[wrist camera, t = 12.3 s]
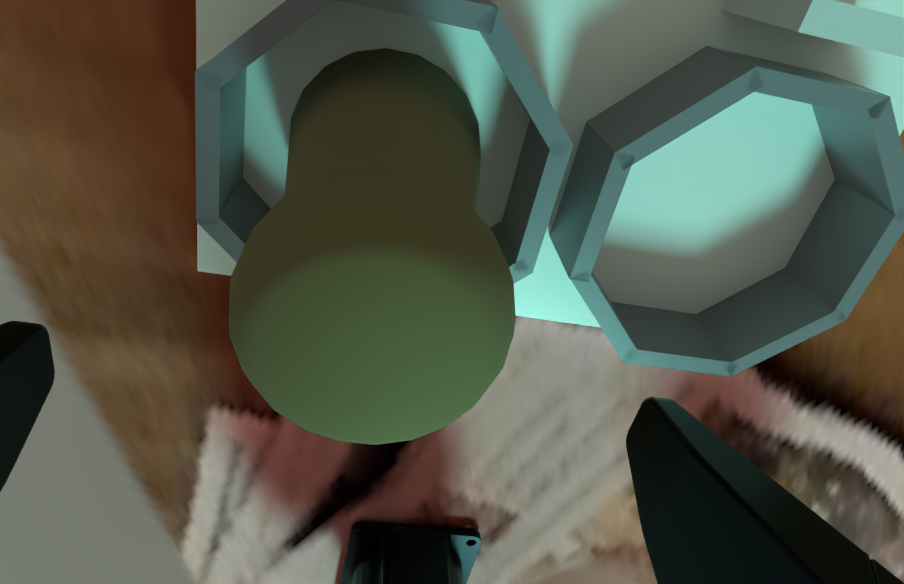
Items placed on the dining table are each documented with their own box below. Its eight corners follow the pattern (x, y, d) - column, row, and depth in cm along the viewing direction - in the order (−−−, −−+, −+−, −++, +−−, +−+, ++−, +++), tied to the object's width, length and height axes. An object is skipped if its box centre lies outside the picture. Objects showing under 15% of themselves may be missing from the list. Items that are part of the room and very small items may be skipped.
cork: (247, 124, 18) (87, 335, 9) (408, 3, 17) (418, 106, 8) (367, 265, 21) (342, 537, 12) (515, 172, 20) (617, 397, 10)
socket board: (761, 339, 25) (830, 420, 21) (204, 260, 22) (158, 339, 18) (954, 5, 19) (1107, 29, 15) (204, -192, 15) (130, -233, 11)
